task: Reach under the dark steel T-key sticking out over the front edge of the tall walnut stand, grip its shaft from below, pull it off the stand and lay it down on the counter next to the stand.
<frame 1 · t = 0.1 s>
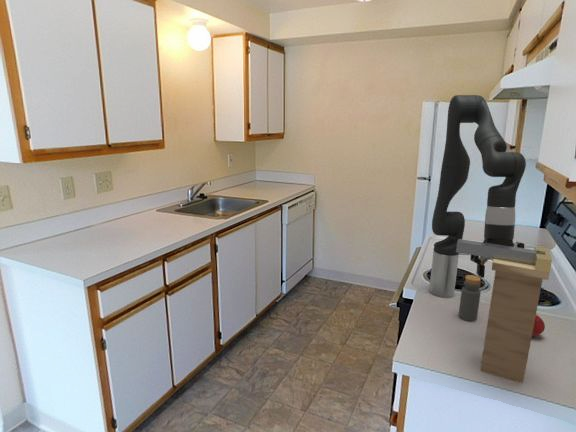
hand: (495, 277, 110), 22 cm above the counter, tool pointing down, fingers open, 8 cm apart
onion: (531, 336, 120), on the counter
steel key: (497, 257, 99), point 32 cm above the counter, touching wooden stand
wooden stand: (501, 368, 104), on the counter
bottle: (467, 317, 131), on the counter
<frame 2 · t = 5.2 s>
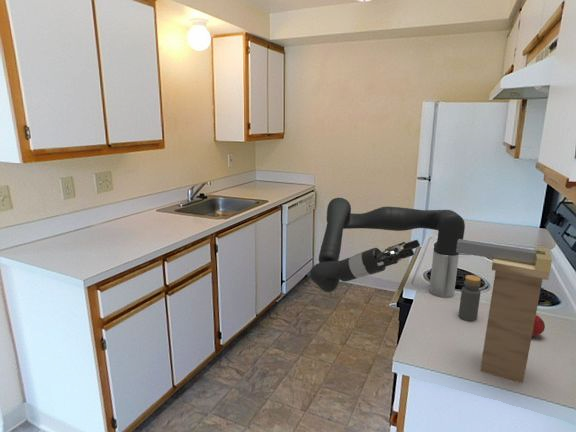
hand: (415, 246, 109), 31 cm above the counter, tool pointing upward, fingers open, 8 cm apart
nothing on the counter moved.
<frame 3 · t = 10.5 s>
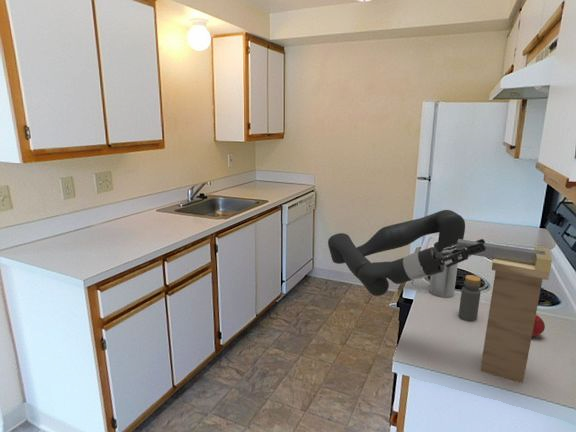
hand: (484, 244, 99), 35 cm above the counter, tool pointing upward, fingers closed on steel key, 3 cm apart
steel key: (497, 257, 99), point 32 cm above the counter, touching gripper, wooden stand
everything else where it was.
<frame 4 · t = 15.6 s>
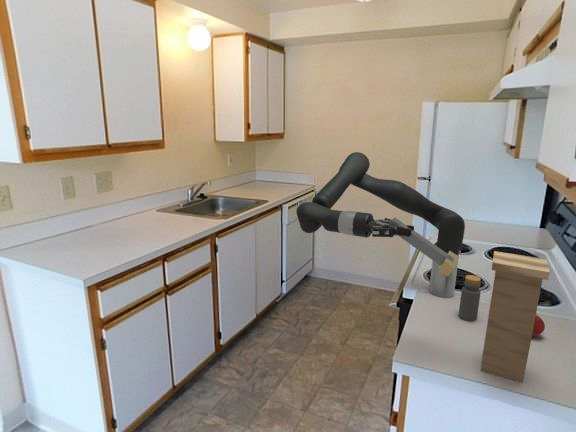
hand: (412, 231, 108), 36 cm above the counter, tool horizontal, fingers closed on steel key, 3 cm apart
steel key: (416, 246, 109), point 31 cm above the counter, tilted 29°, touching gripper
everything else where it was.
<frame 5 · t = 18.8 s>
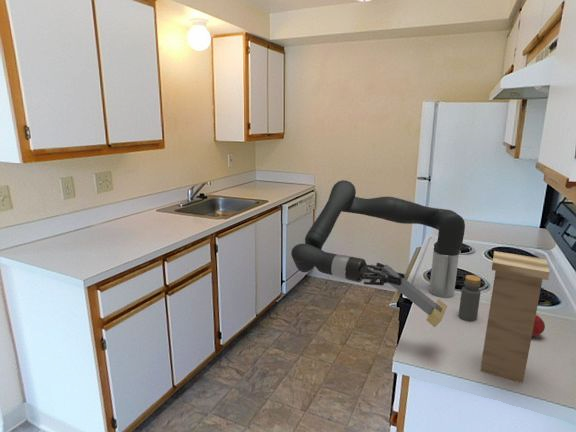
hand: (402, 279, 112), 21 cm above the counter, tool horizontal, fingers closed on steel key, 3 cm apart
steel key: (406, 294, 112), point 16 cm above the counter, tilted 30°, touching gripper
everything else where it was.
when the fingers open (10 cm above the counter, at t = 21.2 s): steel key drops 6 cm, on the counter.
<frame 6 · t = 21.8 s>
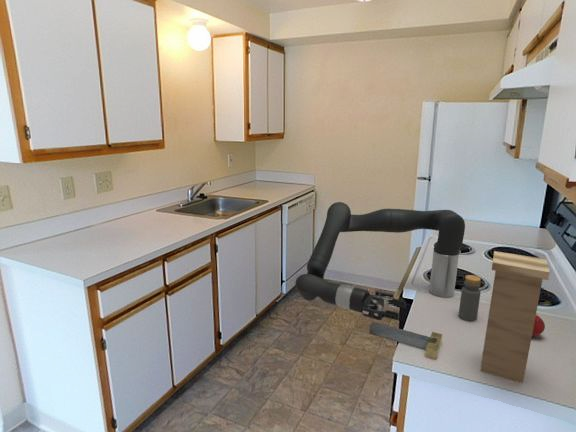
hand: (402, 310, 115), 10 cm above the counter, tool horizontal, fingers open, 8 cm apart
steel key: (401, 340, 118), on the counter
everything else where it was.
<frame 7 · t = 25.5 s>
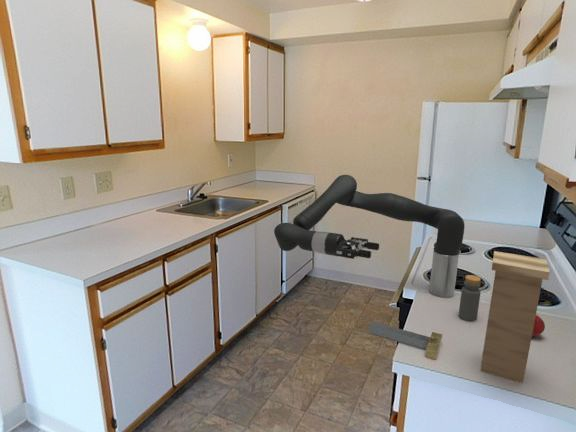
hand: (374, 250, 119), 27 cm above the counter, tool horizontal, fingers open, 8 cm apart
nothing on the counter moved.
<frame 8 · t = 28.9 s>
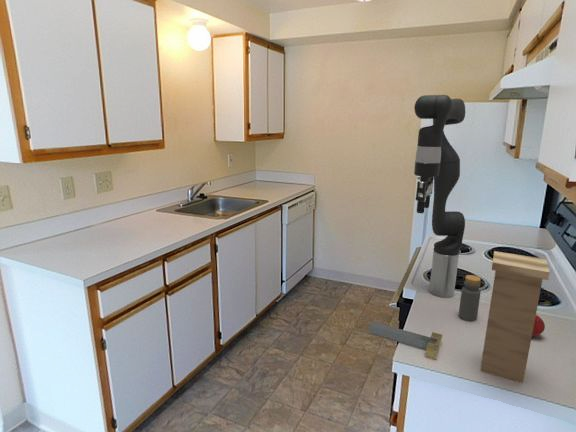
hand: (422, 210, 123), 38 cm above the counter, tool pointing down, fingers open, 8 cm apart
nothing on the counter moved.
at the end: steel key inside the target area (1.4 cm from its centre), on the counter; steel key touching counter; the gripper is holding nothing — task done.
